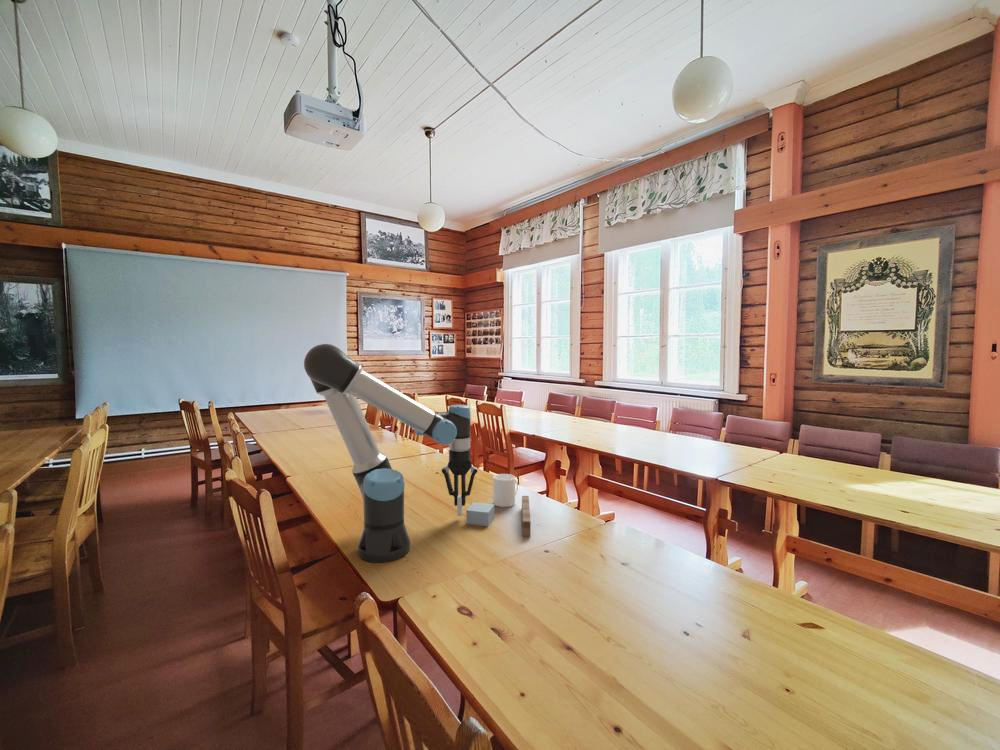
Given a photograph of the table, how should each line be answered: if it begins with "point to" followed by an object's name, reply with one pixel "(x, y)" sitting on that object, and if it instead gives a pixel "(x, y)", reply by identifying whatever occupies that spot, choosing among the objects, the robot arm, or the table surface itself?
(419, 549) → the table surface
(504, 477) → the mug
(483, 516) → the block
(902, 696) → the table surface
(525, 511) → the board
